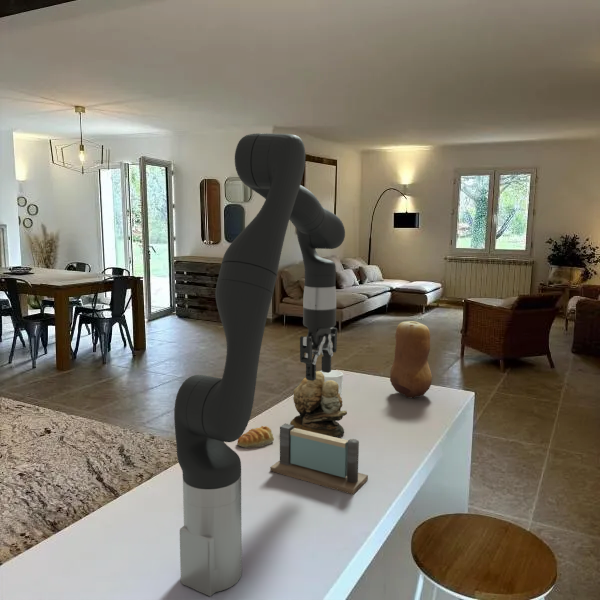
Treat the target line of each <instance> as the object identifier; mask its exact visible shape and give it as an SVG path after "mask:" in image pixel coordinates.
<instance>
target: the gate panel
mask: <svg viewBox="0 0 600 600" xmlns="http://www.w3.org/2000/svg"><path fill="white" fill-rule="evenodd" d="M290 435H291V458H290V463H292V464H295V465H299V466H303V467H307V468H310V469H314V470H318V471H321V472H325V473H329V474H333V475H336V476H340V477H344V478H345V477H346V476H347V457H348V440H349V439H344V438H340V437H337V438H336V437H332V436H327V435H323V434H319V433H314V432H310V431H306V430H301V429H297V428H294V429H292V430H291V431H290Z"/></svg>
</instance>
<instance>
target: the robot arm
mask: <svg viewBox="0 0 600 600" xmlns="http://www.w3.org/2000/svg"><path fill="white" fill-rule="evenodd" d="M305 166H306V148H305V144H304V142H303V140H302V138H301V137H299V135H296V134H292V133H267V132H266V133H264V132H263V133H249V134H246V135H244V136H242V137H241V139H240V140H239V141H238V143H237V145H236V148H235V151H234V167H235V171H236V173H237V176H238V178H239V180H241V182H242V183H243V184H244V185H245V186H247V187H248V188H249V189H251V190H253V192H255V193H257V194H258V195H260V196H261V197H262V198H264V202H263V205H261V206H262V207H261V208H260V210H259V212H258V213H257V214H256V215H255V217H254V218H253V219H252V220H251V221H250V222H249V223H248V224H247V225H246V226H245V227H244V228H243V229H242V231H241V232H240V233H239V234H238V235H237V236H236V237H235V238H234V240H233V241H232V242H231V243H230V245H229V246H228V247H227V248H226V250H225V252H224V254H223V257H222V260H221V264H220V269H219V272H218V277H217V281H216V286H215V294H214V295H215V296H214V297H215V302H216V308H217V311H218V314H219V318H220V321H221V325H222V328H223V331H224V335H225V340H226V355H225V356H226V357H225V364H224V369H223V374H222V378H220V377H216V376H210V375H205V374H195V375H191V376H189V377H188V378H186V379H185V380H184V381H183V382H182V383H181V386H180V387H179V389H178V390H177V394H176V397H175V400H174V408H173V409H174V410H173V413H174V415H173V419H174V420H173V421H174V432H175V445H176V456H177V462H178V464H179V466H180V469H181V472H182V491H183V493H182V494H183V495H182V496H183V500H182V502H183V503H182V504H183V507H182V509H183V525H182V527H180V528H179V558H180V559H179V560H180V561H179V563H180V565H179V566H180V584H181V585H184V586H186V587H188V588H191V589H193V590H195V591H197V592H200V593H202V594H204V595H206V596H208V597H211V596H213V595H214V594H215V593H217V592H221V591H224V590H225V591H226V590H227V589H230V588H231V587H233V586H234V585H236V584H237V583H238V582H239V580H240V579H241V577H242V573H243V572H242V571H243V569H242V567H243V565H242V564H243V563H242V561H243V559H242V558H243V557H242V555H243V554H242V551H243V550H242V547H243V546H242V534H243V533H242V461H241V458H240V456H239V454H238V453H237V452H236V451H235V450H233V449H232V448H231V447H230V446H229V445H227V443H233V442H235V441H238V438H240V436H242V435H243V434H245V430H246V429H247V427H248V425H249V421H250V418H251V415H252V411H253V406H254V400H255V399H254V398H255V392H256V387H257V378H258V377H257V376H258V369H259V362H260V355H261V349H262V345H263V344H262V343H263V338H264V332H265V327H266V324H267V319H268V314H269V312H270V311H269V310H270V305H271V303H272V299H273V295H274V290H275V286H276V281H277V277H278V273H279V268H280V267H279V266H280V260H281V256H282V251H283V247H284V246H283V245H284V242H285V237H286V233H287V230H288V226H289V222H291V223H292V225H293V226H294V227H295V228H296V236H297V241H298V245H299V248H300V252H301V256H302V260H303V267H304V287H303V288H304V289H303V298H302V299H303V304H302V306H303V307H302V308H303V309H302V313H303V314H302V317H303V318H302V319H303V320H302V324H303V326H304V327H306V328H307V329H308V330H307V334H306V336H305V335H304V336H303V335H302V336H300V338H299V360H300V363H301V364H302V363H303V364H305V378H306V379H307V380H311V381H314V380H315V379H316V371H317V364H316V363H317V362H318V358H319V357H320V356H321V371H322V372H326V373H329V372H331V370H332V357H333V356H334V353H337V348H338V347H337V346H338V345H337V344H338V328H337V327H336V325H337V290H336V289H337V288H336V280H337V278H336V276H337V274H336V273H337V272H336V271H337V270H336V269H337V267H336V262H334V261H333V260H330V259H327V258H324V257H321V256H319V254H318V253H317V251H316V249H318V250H319V249H320V250H322V249H323V250H324V249H325V250H334V249H337V248H339V247H340V246H341V245H342V244H343V242H344V240H345V237H346V228H345V226H344V223H343V222H342V221H343V220H341V219H340V217H339V216H337V215H336V214H335V213H333V212H332V211H330V210H328V209H327V208H326V207H323V206H322V204H321V202H320V200H319V199H318V198H317V197H316V195H315V194H314V193H313V192H312V191H310V190H309V189H308V188H307V187H305V186H303V185H301V183H302V181H303V176H304V171H305Z"/></svg>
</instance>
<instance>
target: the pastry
mask: <svg viewBox="0 0 600 600" xmlns="http://www.w3.org/2000/svg"><path fill="white" fill-rule="evenodd" d="M274 440H275V437H274V433H273V432H272V430H271V428H270V427H269V426H267V425H266V426H265V425H261V426H260V427H255V428H250V429H249V430H248V431H247V432H244V433H243V434H242V435H241V436H240V438H238V439H237V445H238V446H240V447H242V448H245V449H249V447H250V448H259V447H262V445H263V446H267V445H270V444H272V443H273V442H274ZM269 443H270V444H269ZM266 444H267V445H266Z"/></svg>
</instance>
